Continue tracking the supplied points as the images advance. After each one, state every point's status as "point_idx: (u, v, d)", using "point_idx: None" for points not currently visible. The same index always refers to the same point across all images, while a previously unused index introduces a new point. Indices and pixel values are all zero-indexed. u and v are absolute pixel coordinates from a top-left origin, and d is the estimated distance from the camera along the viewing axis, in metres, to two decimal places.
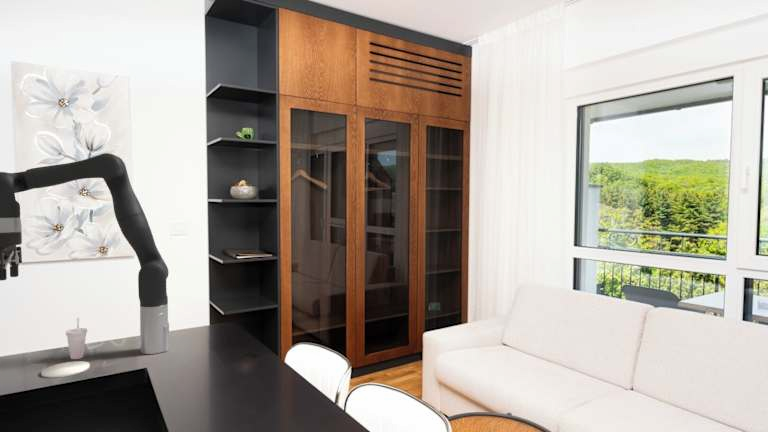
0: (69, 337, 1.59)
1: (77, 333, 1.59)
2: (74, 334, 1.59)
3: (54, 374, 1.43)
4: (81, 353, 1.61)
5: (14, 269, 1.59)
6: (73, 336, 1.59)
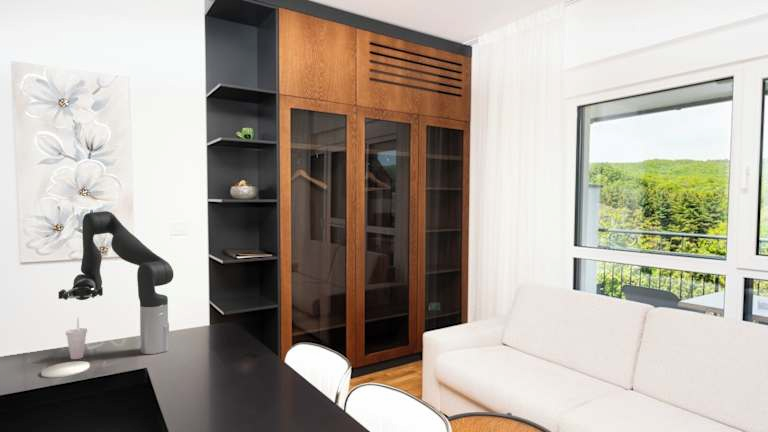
0: (69, 337, 1.59)
1: (77, 333, 1.59)
2: (74, 334, 1.59)
3: (54, 374, 1.43)
4: (81, 353, 1.61)
5: None
6: (73, 336, 1.59)
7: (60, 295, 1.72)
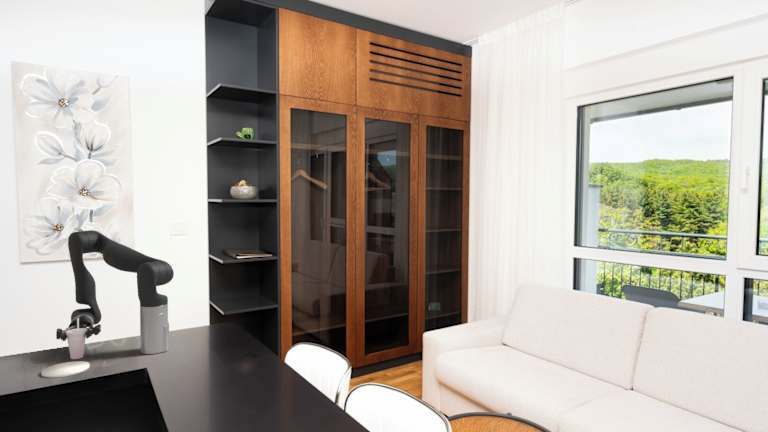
0: (69, 337, 1.59)
1: (77, 333, 1.59)
2: (74, 334, 1.59)
3: (54, 374, 1.43)
4: (81, 353, 1.61)
5: None
6: (73, 336, 1.59)
7: (58, 335, 1.61)
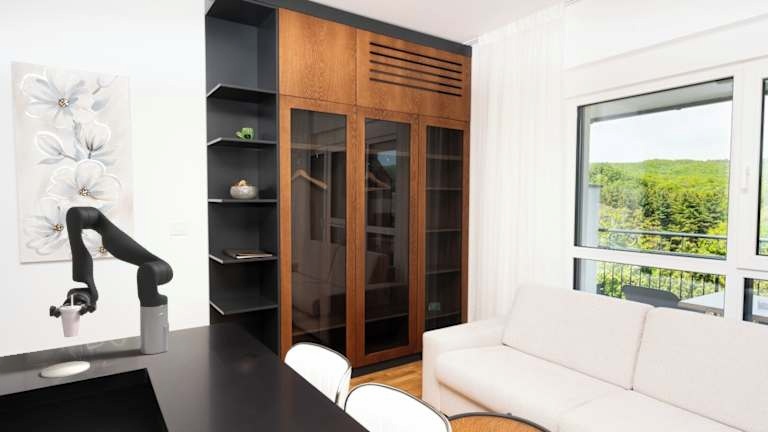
0: (62, 314, 1.52)
1: (71, 310, 1.52)
2: (68, 311, 1.52)
3: (54, 374, 1.43)
4: (75, 331, 1.54)
5: None
6: (67, 313, 1.52)
7: (52, 312, 1.54)
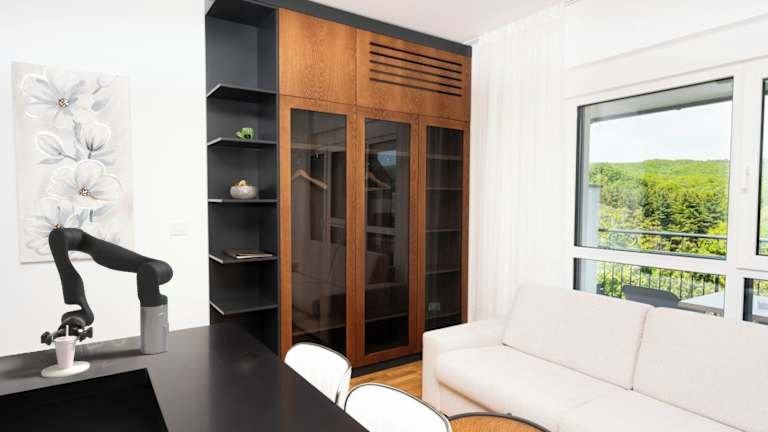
0: (57, 346, 1.46)
1: (66, 341, 1.46)
2: (62, 343, 1.46)
3: (54, 374, 1.43)
4: (70, 363, 1.48)
5: None
6: (61, 345, 1.46)
7: (43, 339, 1.48)
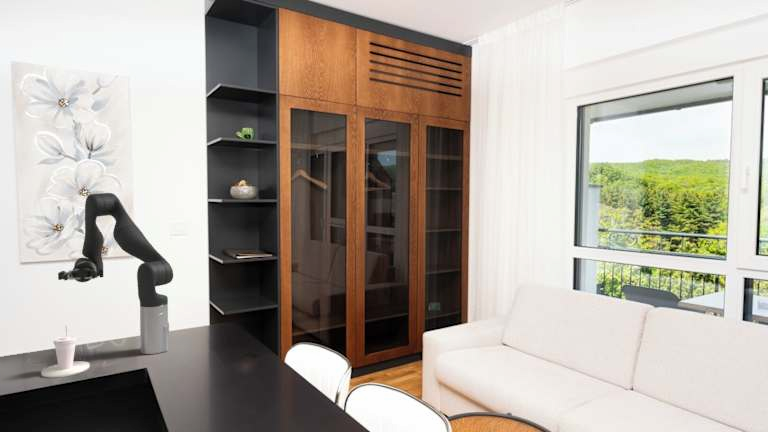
0: (57, 346, 1.46)
1: (66, 341, 1.46)
2: (62, 343, 1.46)
3: (54, 374, 1.43)
4: (70, 363, 1.48)
5: None
6: (61, 345, 1.46)
7: (60, 276, 1.68)
